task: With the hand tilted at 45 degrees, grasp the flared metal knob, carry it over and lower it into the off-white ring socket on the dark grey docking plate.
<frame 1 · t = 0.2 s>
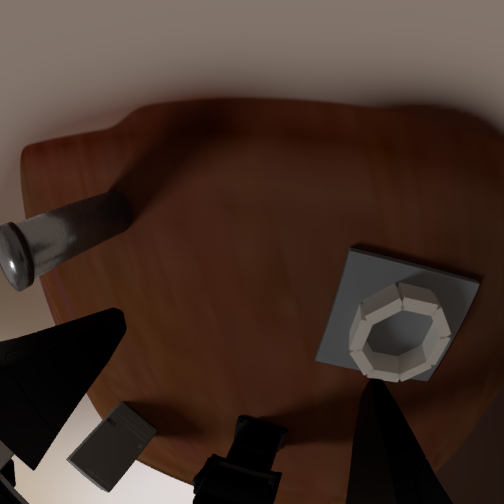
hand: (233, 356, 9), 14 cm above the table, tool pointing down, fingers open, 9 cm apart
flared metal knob: (115, 212, 26), on the table
skincare box: (133, 417, 42), on the table
dock: (396, 322, 22), on the table
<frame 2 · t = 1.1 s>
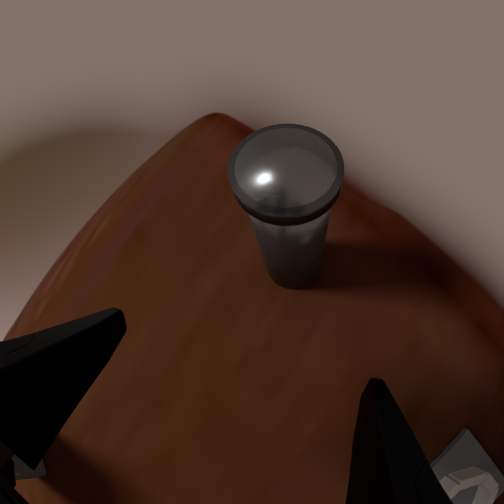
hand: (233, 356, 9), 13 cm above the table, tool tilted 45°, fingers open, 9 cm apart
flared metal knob: (293, 263, 24), on the table
skincare box: (27, 437, 21), on the table
dock: (447, 502, 13), on the table
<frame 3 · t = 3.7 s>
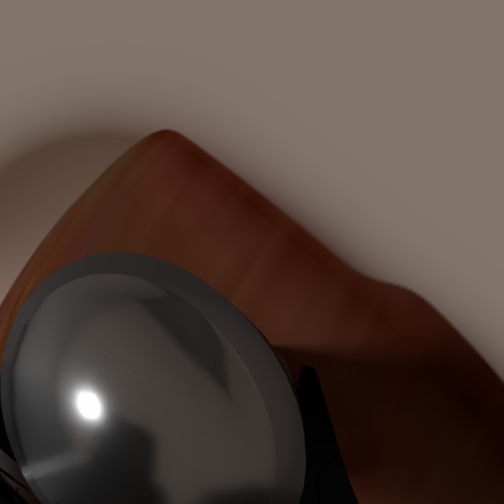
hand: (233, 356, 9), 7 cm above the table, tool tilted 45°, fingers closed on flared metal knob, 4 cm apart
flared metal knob: (252, 382, 15), on the table, touching gripper
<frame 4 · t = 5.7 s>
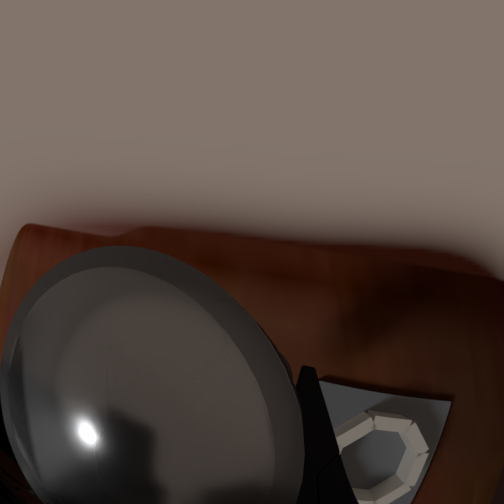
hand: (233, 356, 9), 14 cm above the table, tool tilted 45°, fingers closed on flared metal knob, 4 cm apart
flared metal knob: (252, 380, 15), point 7 cm above the table, touching gripper
dock: (366, 455, 17), on the table
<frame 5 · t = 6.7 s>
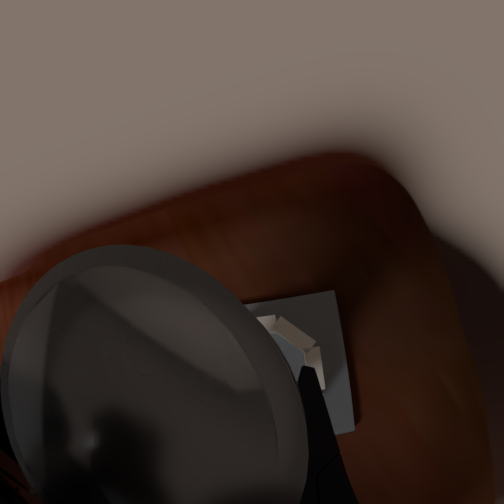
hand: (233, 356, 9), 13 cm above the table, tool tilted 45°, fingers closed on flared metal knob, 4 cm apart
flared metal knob: (253, 380, 15), point 6 cm above the table, touching gripper
dock: (266, 374, 20), on the table
when the fingers open (8 cm above the table, at t = 7.7 s): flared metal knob drops 1 cm, resting on dock.
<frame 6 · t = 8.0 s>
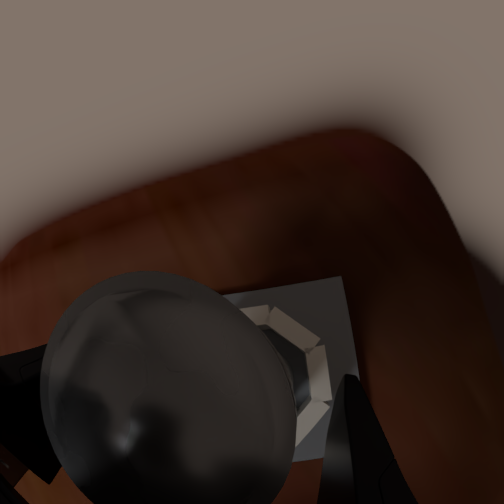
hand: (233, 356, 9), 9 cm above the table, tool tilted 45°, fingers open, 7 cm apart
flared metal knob: (255, 381, 16), point 1 cm above the table, touching dock
dock: (257, 380, 16), on the table
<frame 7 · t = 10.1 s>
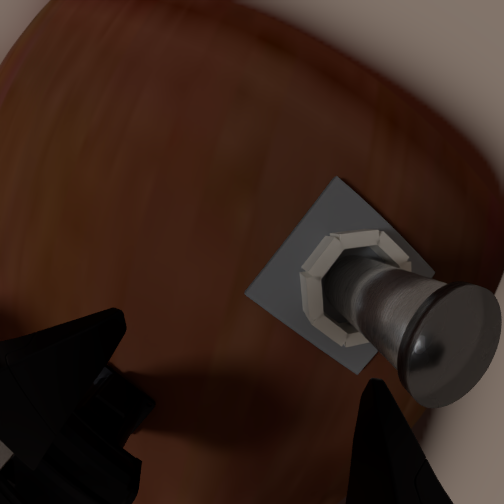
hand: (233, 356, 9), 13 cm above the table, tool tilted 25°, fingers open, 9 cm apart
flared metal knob: (352, 284, 21), point 1 cm above the table, touching dock
dock: (348, 281, 22), on the table
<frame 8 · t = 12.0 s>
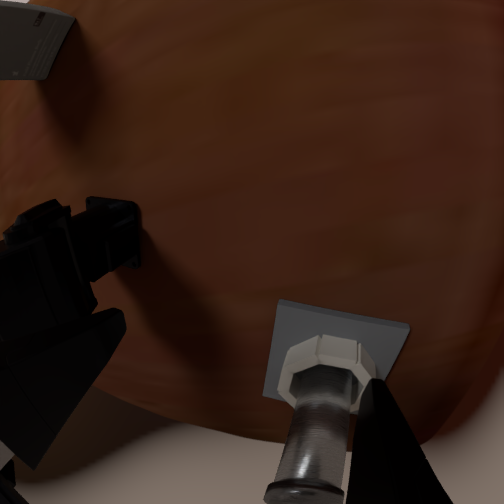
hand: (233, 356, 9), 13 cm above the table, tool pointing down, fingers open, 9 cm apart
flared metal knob: (328, 370, 24), point 1 cm above the table, touching dock
skincare box: (51, 40, 19), on the table
dock: (329, 364, 24), on the table
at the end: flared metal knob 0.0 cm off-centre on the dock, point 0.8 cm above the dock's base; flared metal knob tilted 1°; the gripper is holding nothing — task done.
